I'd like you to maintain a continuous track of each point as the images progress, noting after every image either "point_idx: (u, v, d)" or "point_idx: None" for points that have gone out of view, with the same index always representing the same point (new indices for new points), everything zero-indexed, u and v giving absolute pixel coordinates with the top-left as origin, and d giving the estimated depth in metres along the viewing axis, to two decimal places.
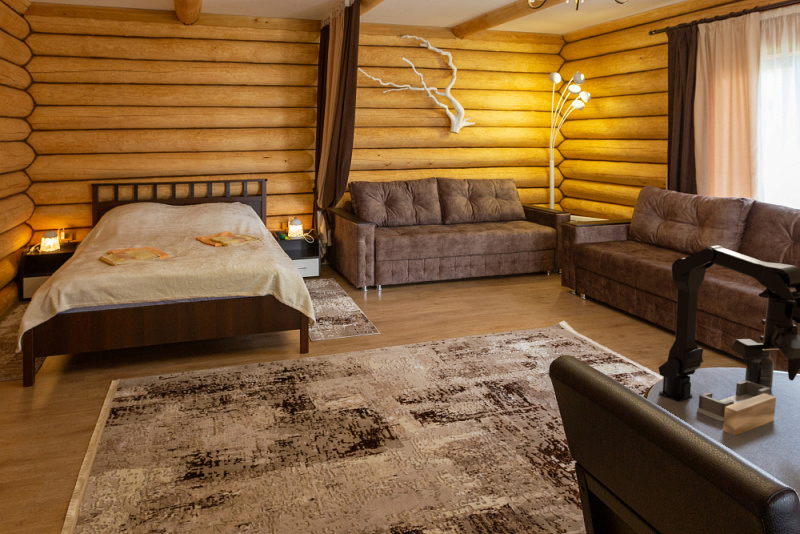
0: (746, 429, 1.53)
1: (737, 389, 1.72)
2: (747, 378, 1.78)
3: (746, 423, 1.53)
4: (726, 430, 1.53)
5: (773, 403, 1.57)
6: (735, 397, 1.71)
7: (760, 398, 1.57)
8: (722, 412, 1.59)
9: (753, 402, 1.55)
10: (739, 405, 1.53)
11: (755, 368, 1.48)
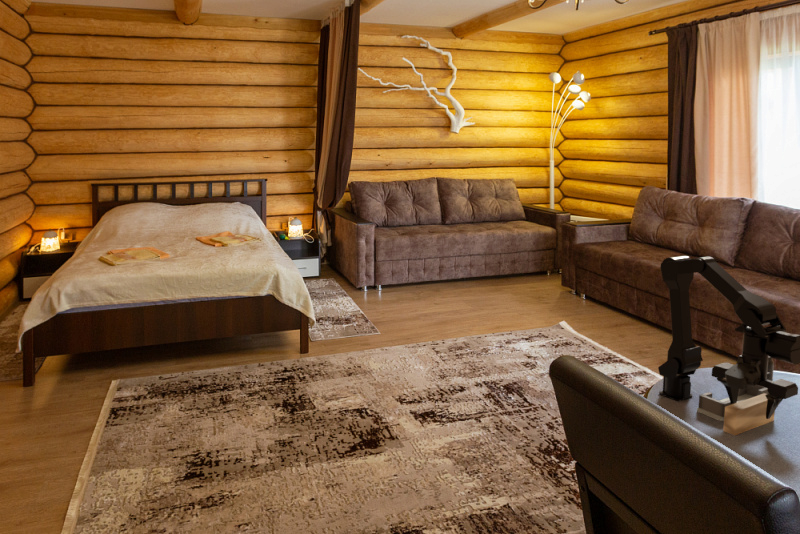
0: (746, 429, 1.53)
1: None
2: None
3: (746, 423, 1.53)
4: (726, 430, 1.53)
5: None
6: None
7: (760, 398, 1.57)
8: (722, 412, 1.59)
9: (753, 402, 1.55)
10: (739, 405, 1.53)
11: (728, 392, 1.59)
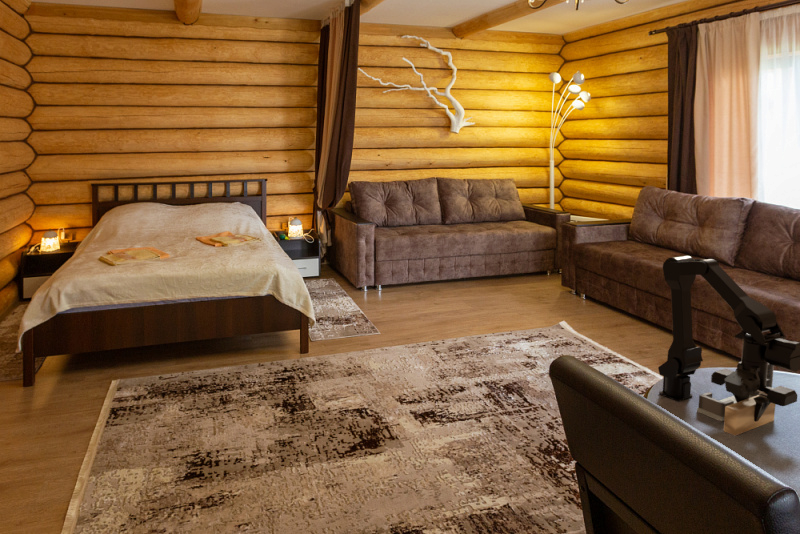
0: (746, 429, 1.53)
1: None
2: None
3: (746, 422, 1.53)
4: (726, 430, 1.53)
5: (773, 403, 1.57)
6: None
7: None
8: (722, 412, 1.59)
9: (753, 401, 1.55)
10: (739, 405, 1.53)
11: (738, 401, 1.57)
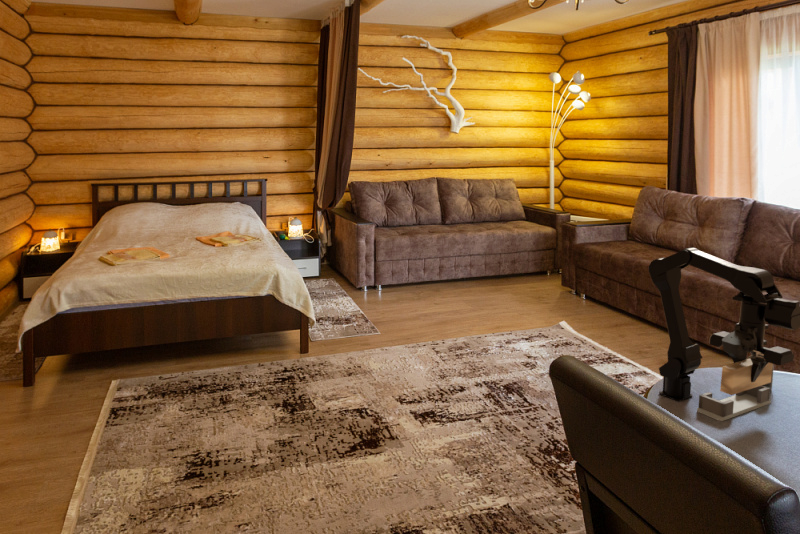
0: (743, 389, 1.55)
1: None
2: None
3: (743, 382, 1.55)
4: (723, 389, 1.55)
5: (770, 364, 1.59)
6: (735, 397, 1.71)
7: None
8: (722, 412, 1.59)
9: (750, 362, 1.57)
10: (736, 365, 1.55)
11: None
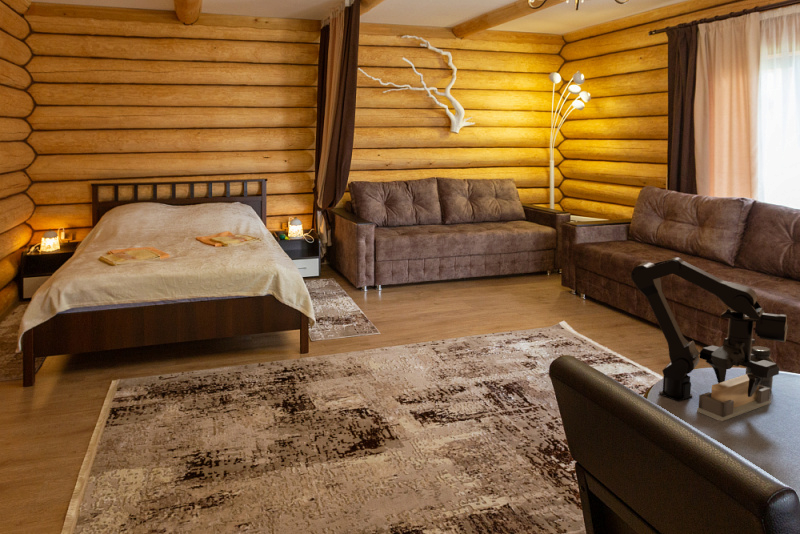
0: None
1: None
2: None
3: None
4: None
5: None
6: None
7: (745, 378, 1.67)
8: (722, 412, 1.59)
9: (738, 381, 1.65)
10: (725, 384, 1.63)
11: (716, 373, 1.69)
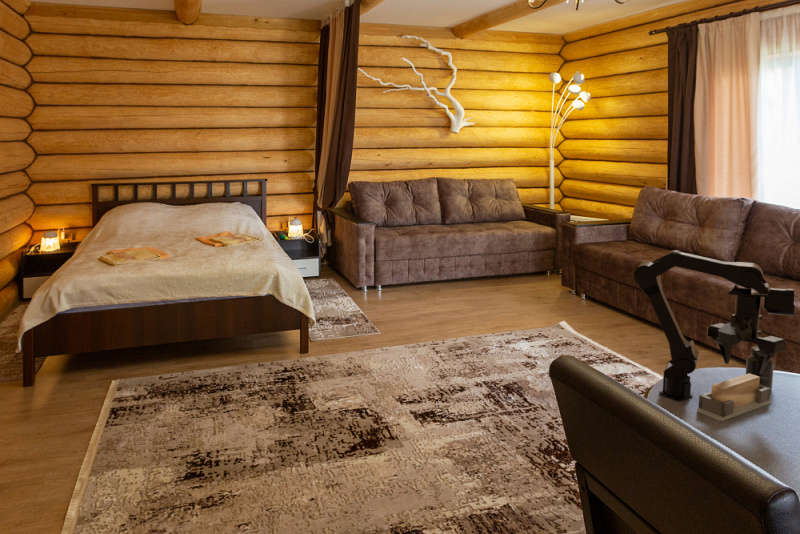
0: None
1: None
2: None
3: None
4: None
5: (757, 382, 1.68)
6: None
7: (745, 378, 1.67)
8: (722, 412, 1.59)
9: (738, 381, 1.65)
10: (725, 384, 1.63)
11: (722, 350, 1.69)
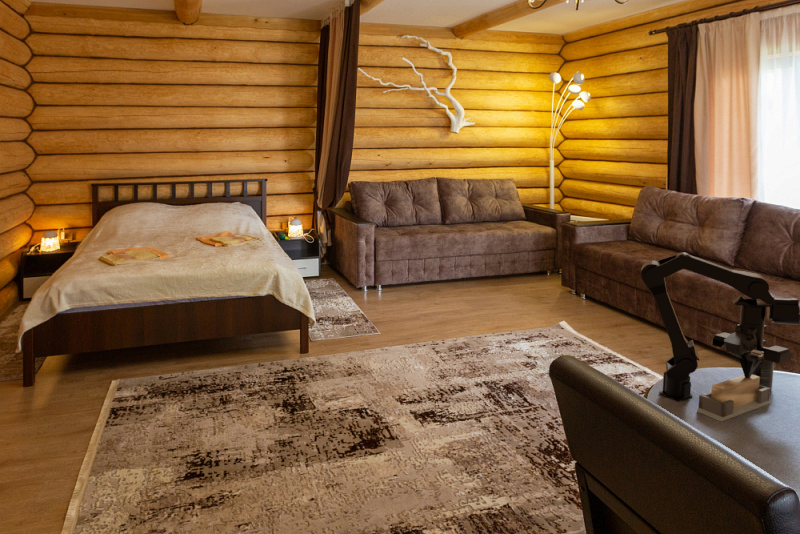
0: None
1: None
2: None
3: None
4: None
5: (757, 382, 1.68)
6: None
7: (745, 378, 1.67)
8: (722, 412, 1.59)
9: (738, 381, 1.65)
10: (725, 384, 1.63)
11: (741, 363, 1.67)
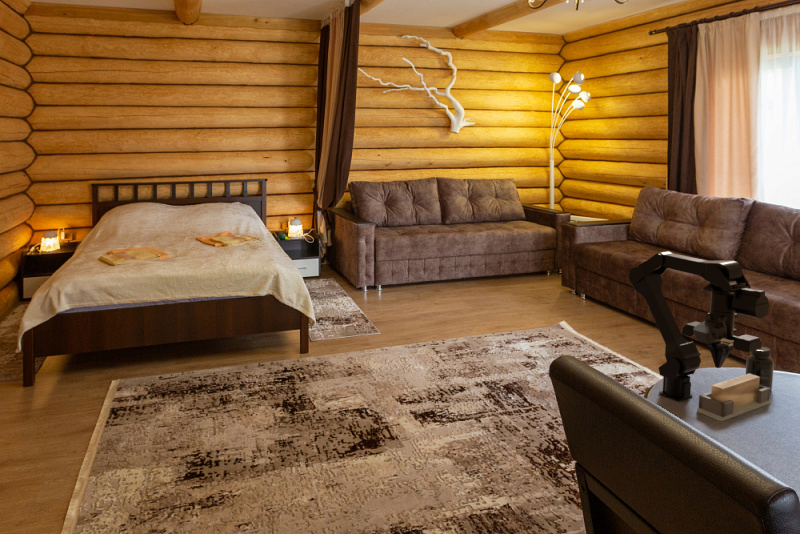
0: None
1: None
2: None
3: None
4: None
5: (757, 382, 1.68)
6: None
7: (745, 378, 1.67)
8: (722, 412, 1.59)
9: (738, 381, 1.65)
10: (725, 384, 1.63)
11: (712, 353, 1.63)
